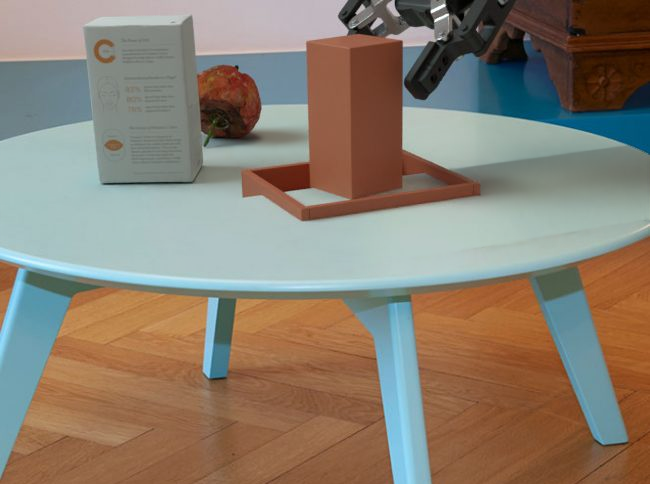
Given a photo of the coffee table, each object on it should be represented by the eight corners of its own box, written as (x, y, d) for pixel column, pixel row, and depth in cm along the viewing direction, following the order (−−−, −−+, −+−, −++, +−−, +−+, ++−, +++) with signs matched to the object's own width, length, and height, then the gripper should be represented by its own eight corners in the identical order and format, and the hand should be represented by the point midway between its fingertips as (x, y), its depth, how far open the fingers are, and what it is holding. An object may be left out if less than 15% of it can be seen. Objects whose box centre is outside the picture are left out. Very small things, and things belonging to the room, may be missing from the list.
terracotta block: (359, 189, 89) (358, 33, 85) (402, 202, 86) (403, 40, 81) (310, 201, 87) (305, 40, 82) (352, 214, 83) (350, 47, 78)
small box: (204, 164, 100) (194, 13, 95) (193, 183, 94) (182, 22, 90) (113, 165, 101) (99, 14, 96) (97, 184, 95) (81, 24, 90)
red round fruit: (251, 170, 107) (291, 91, 111) (212, 118, 102) (255, 37, 106) (191, 169, 111) (231, 93, 115) (150, 119, 106) (195, 41, 110)
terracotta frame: (403, 180, 94) (403, 149, 93) (479, 217, 84) (480, 183, 83) (242, 202, 89) (240, 169, 88) (302, 245, 78) (301, 209, 78)
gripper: (396, -123, 89) (285, 43, 86) (536, -125, 78) (413, 64, 76) (444, -55, 94) (340, 103, 91) (581, -49, 83) (467, 130, 81)
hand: (373, 85), depth 84 cm, fingers open, 8 cm apart
